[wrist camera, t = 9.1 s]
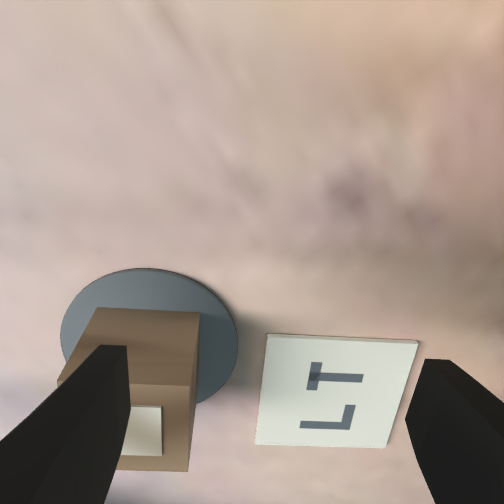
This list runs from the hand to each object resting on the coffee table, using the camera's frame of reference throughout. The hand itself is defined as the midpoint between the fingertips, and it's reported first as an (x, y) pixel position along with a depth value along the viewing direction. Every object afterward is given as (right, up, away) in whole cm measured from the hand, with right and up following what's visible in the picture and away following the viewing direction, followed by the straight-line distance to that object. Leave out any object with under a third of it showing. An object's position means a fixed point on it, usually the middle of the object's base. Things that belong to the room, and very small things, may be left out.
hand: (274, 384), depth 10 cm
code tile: (+4, -5, +14) cm, 15 cm away
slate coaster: (-6, -2, +12) cm, 13 cm away
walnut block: (-6, -2, +11) cm, 13 cm away
